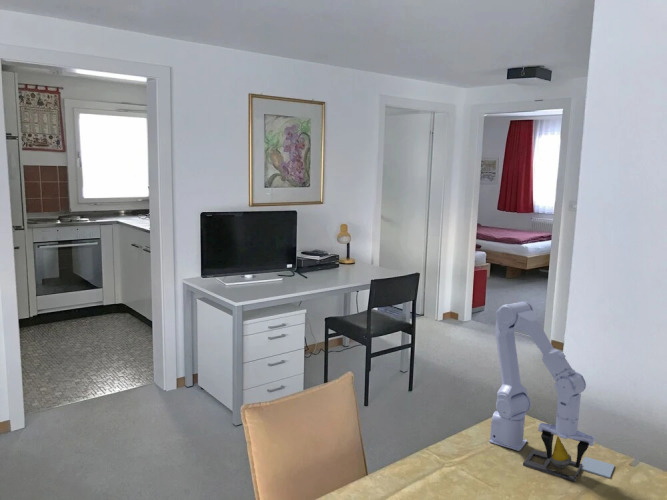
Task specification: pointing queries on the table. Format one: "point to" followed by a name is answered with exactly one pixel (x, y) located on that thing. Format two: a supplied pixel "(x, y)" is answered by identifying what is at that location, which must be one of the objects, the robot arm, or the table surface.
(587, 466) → the mat
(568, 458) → the yellow cone
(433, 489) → the table surface
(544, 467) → the rectangular frame
